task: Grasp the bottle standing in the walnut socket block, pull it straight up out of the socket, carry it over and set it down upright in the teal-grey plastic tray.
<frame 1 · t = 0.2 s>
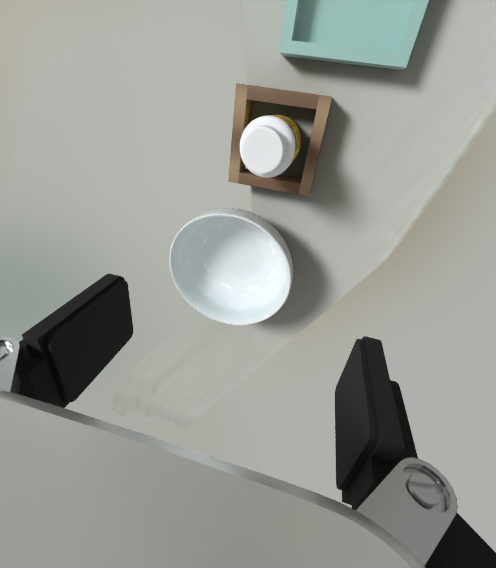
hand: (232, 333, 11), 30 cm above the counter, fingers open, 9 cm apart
supplement bottle: (279, 140, 35), resting in socket block
cereal bowl: (241, 253, 44), on the counter
socket block: (278, 141, 35), on the counter
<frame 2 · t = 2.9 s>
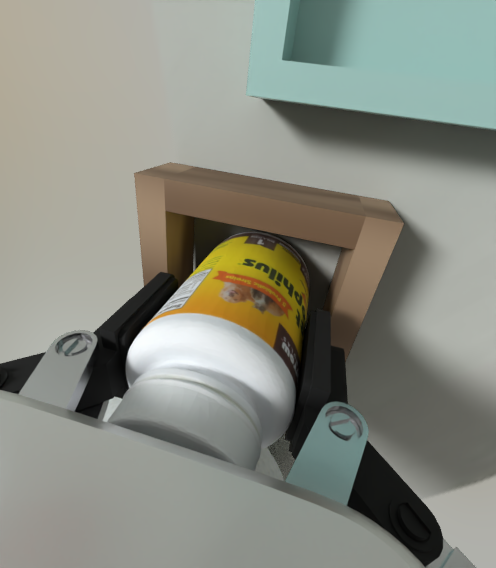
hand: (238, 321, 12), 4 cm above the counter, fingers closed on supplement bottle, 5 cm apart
supplement bottle: (259, 274, 16), resting in socket block, touching gripper
cereal bowl: (199, 426, 25), on the counter
socket block: (258, 276, 16), on the counter
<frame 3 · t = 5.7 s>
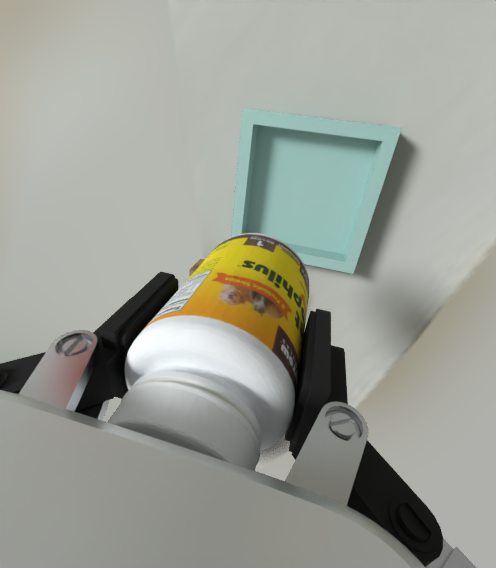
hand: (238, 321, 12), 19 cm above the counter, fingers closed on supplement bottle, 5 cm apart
tray: (304, 192, 27), on the counter
supplement bottle: (258, 275, 16), point 14 cm above the counter, touching gripper
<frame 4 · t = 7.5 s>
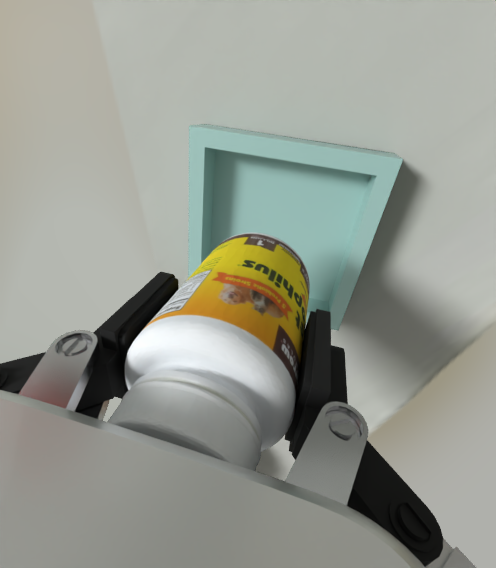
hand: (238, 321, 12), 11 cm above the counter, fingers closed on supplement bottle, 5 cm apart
tray: (278, 228, 21), on the counter
supplement bottle: (258, 275, 16), point 7 cm above the counter, touching gripper
when the fingers open (6 cm above the counter, at t = 8.9 s): supplement bottle drops 1 cm, resting on tray.
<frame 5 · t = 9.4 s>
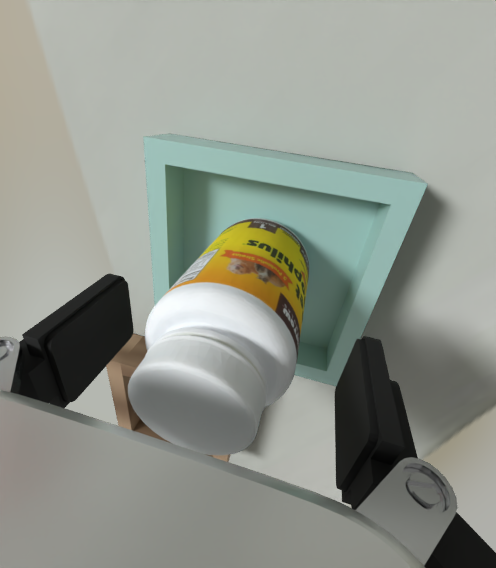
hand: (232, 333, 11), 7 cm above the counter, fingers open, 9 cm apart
tray: (265, 260, 17), on the counter
supplement bottle: (261, 259, 17), resting on tray
socket block: (186, 389, 25), on the counter
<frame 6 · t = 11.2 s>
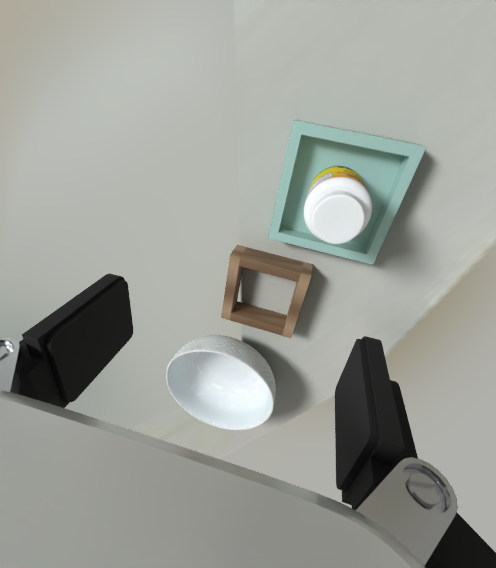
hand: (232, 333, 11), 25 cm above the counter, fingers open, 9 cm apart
tray: (336, 193, 31), on the counter
supplement bottle: (335, 191, 31), resting on tray
cereal bowl: (231, 359, 49), on the counter
socket block: (266, 286, 39), on the counter
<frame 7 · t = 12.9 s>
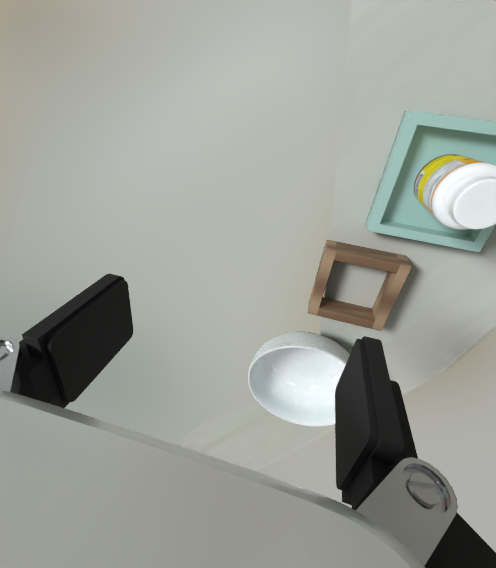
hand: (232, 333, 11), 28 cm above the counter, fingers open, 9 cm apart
tray: (439, 182, 31), on the counter
supplement bottle: (440, 180, 31), resting on tray
cereal bowl: (306, 356, 49), on the counter
socket block: (353, 280, 40), on the counter
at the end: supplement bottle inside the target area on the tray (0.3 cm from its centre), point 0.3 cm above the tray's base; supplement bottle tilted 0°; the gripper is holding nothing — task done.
